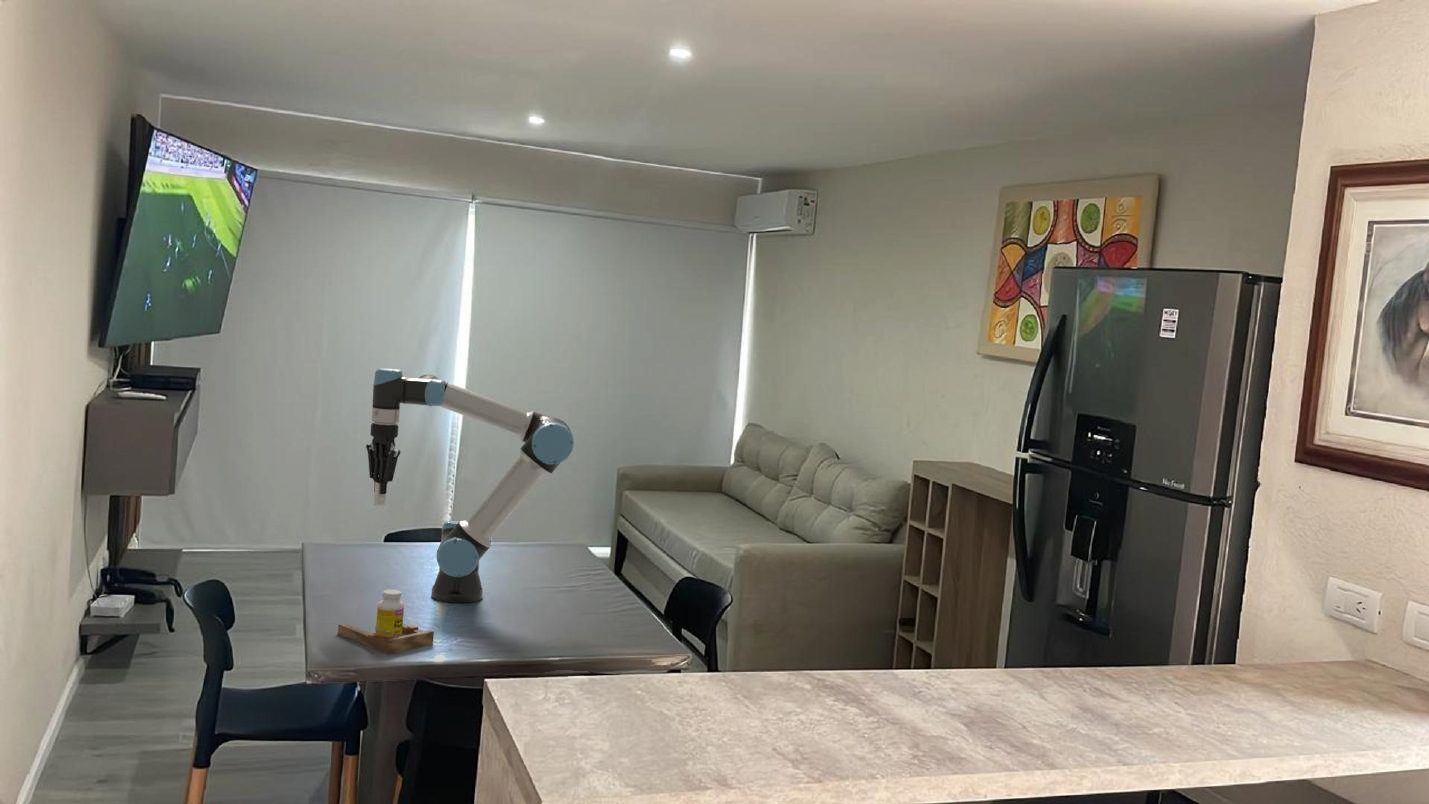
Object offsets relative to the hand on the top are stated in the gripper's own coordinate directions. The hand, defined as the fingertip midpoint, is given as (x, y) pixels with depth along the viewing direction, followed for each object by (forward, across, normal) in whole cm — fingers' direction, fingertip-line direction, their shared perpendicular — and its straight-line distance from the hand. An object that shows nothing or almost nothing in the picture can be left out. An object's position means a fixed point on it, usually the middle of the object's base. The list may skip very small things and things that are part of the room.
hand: (379, 504), depth 325 cm
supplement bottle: (+30, +29, -16) cm, 44 cm away
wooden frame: (+29, +27, -16) cm, 43 cm away
